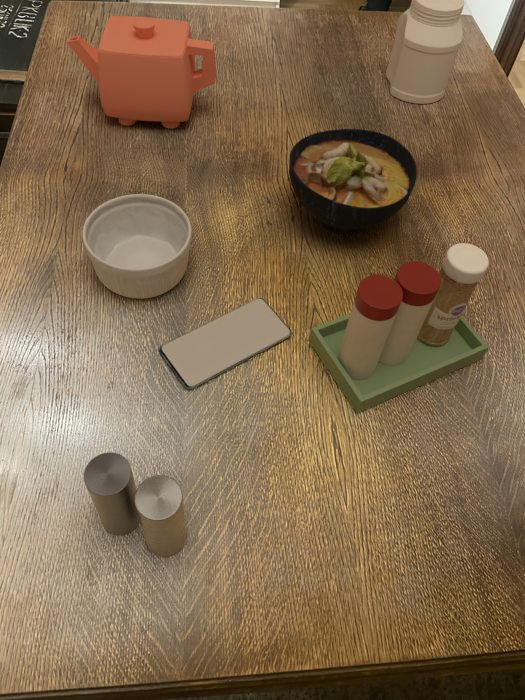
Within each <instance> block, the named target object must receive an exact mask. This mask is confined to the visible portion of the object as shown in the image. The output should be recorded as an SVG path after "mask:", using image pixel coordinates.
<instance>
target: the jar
mask: <svg viewBox="0 0 525 700" xmlns="http://www.w3.org/2000/svg"><path fill="white" fill-rule="evenodd" d="M464 6H465V0H411V2H410V5H409V8H408V9H407V10H405V11H404V12H403V13H401V15H400V16H399V17H398V21H397V26H396V31H395V35H394V40H393V43H392V48H391V52H390V56H389V60H388V64H387V67H386V71H385V77H386V79H387V81H388V83H389V85H390V86H389V94H390V95H391V96H392V97H394V98H396V99H398V100H400V101H402V102H405V103H409V104H415V105H426V104H428V105H429V104H434V103H436V102H438V101H440V100H442V99H443V98H444V96H445V94H446V89H447V87H448V83H449V80H450V77H451V74H452V71H453V69H454V65H455V61H456V58H457V56H458V53H459V49H460V48H461V45H462V42H463V34H464V30H463V25H462V20H461V16H462V13H463V10H464Z"/></svg>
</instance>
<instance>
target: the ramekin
mask: <svg viewBox="0 0 525 700" xmlns="http://www.w3.org/2000/svg"><path fill="white" fill-rule="evenodd" d="M81 240H82V245H83V249H84V251H85V253H86V255H87V257H88V258H89V259H90V261H91V264H92V266H93V269H94V272H95V274H96V276H97V277H98V279H99V281H100V283H102V285H103V286H104V287H105V288H107V289H108V290H110V291H111V292H113V293H115V294H117V295H120V296H122V297H125V298H131V299H137V300H142V299H151V298H155V297H158V296H162V295H163V294H166V293H167V292H169V291H170V290H172V289H174V288H175V287H176V286H177V285H178V284H179V283H180V281H182V279H183V277H184V276H185V273H186V272H187V268H188V264H189V263H188V262H189V256H190V248H191V246H192V243H193V242H192V241H193V231H192V224H191V221H190V219H189V217H188V215H187V213H186V212H185V211H184V210H183V209H182V208H181V207H180V206H179V205H178V204H176V203H175V202H173V201H171V200H169V199H167V198H164V197H161V196H159V195H153V194H147V193H134V194H133V193H132V194H126V195H121V196H117V197H114V198H112V199H109V200H107V201H105V202H103V203H101V204H100V205H98V206H97V207H96V208H95V209H93V211H91V212H90V213H89V215H87V217H86V219H85V221H84V223H83V226H82V230H81Z"/></svg>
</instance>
